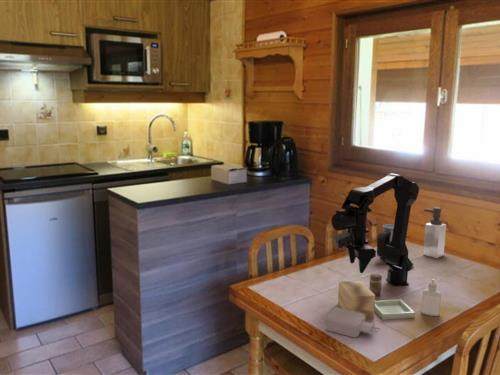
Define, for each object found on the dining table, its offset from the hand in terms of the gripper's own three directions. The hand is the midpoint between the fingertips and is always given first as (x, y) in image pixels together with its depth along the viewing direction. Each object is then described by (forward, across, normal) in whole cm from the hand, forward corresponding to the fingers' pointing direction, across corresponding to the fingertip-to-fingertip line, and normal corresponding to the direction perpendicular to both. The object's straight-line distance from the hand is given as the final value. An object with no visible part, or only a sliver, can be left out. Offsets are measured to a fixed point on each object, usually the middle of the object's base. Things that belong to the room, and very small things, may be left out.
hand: (356, 267), depth 163 cm
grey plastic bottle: (+11, +24, -9) cm, 28 cm away
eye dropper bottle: (+11, +16, +20) cm, 28 cm away
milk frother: (+12, -32, +31) cm, 46 cm away
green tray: (+11, +13, +8) cm, 19 cm away
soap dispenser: (+12, -39, +50) cm, 65 cm away
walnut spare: (+11, -1, +8) cm, 13 cm away
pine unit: (+11, +11, -4) cm, 16 cm away
